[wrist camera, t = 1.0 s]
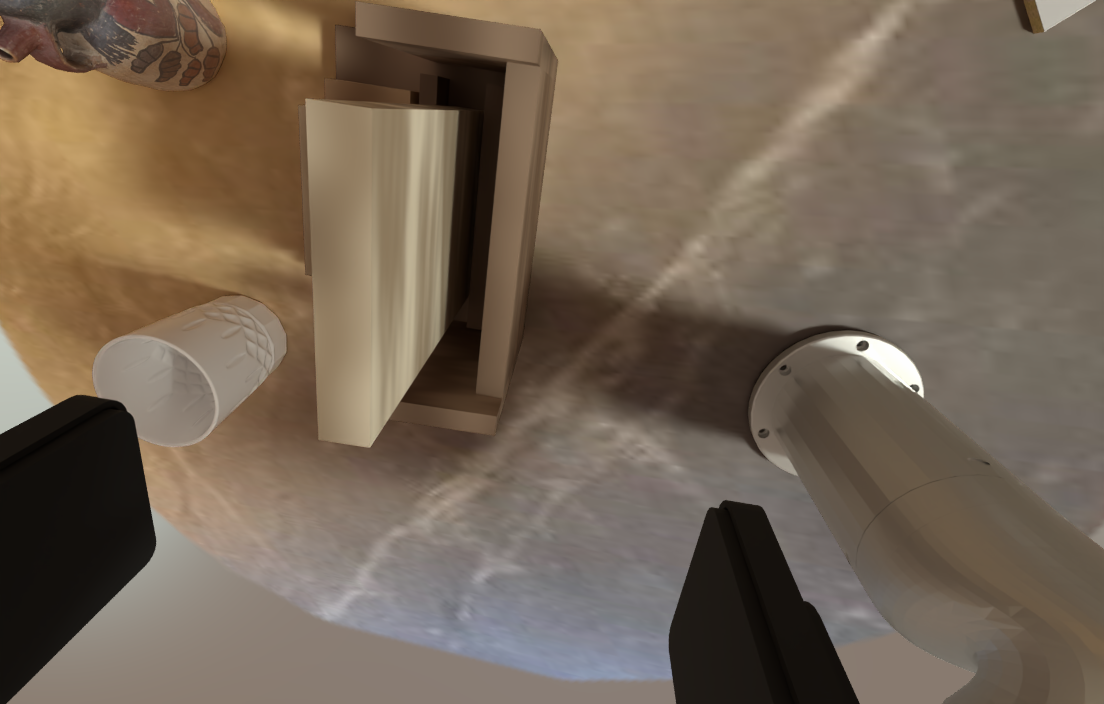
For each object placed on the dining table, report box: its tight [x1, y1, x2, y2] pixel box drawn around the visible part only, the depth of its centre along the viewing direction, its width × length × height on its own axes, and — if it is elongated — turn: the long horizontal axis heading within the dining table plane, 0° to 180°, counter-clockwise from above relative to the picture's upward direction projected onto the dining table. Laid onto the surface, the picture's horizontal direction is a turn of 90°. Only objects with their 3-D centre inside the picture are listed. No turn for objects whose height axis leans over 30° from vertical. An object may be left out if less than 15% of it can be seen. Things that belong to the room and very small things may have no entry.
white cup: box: [92, 295, 287, 447], centre depth 39 cm, size 8×8×10 cm
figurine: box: [0, 0, 227, 91], centre depth 30 cm, size 7×7×12 cm
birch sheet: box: [305, 98, 484, 448], centre depth 28 cm, size 2×12×20 cm, turn 173°
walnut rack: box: [335, 1, 558, 436], centre depth 32 cm, size 14×19×14 cm
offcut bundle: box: [298, 78, 419, 276], centre depth 34 cm, size 5×13×8 cm, turn 172°
